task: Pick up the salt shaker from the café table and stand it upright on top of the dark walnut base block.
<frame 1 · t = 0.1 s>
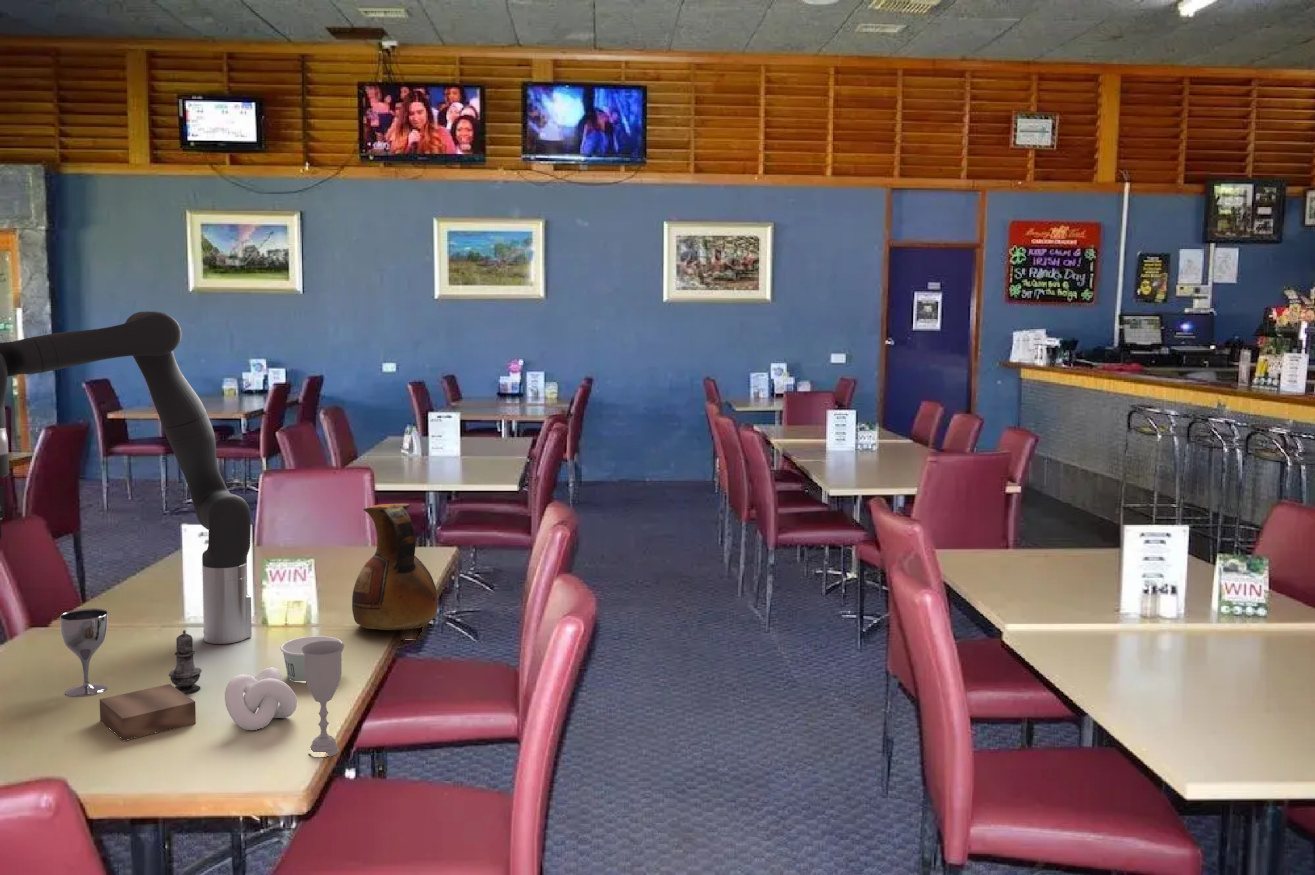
ceramic pitcher: (395, 628, 241), on the table
salt shaker: (185, 691, 197), on the table
chalice: (323, 752, 171), on the table
silver goblet: (86, 691, 196), on the table
food container: (312, 676, 207), on the table
white knot sculpture: (257, 725, 182), on the table
walnut base: (148, 722, 181), on the table
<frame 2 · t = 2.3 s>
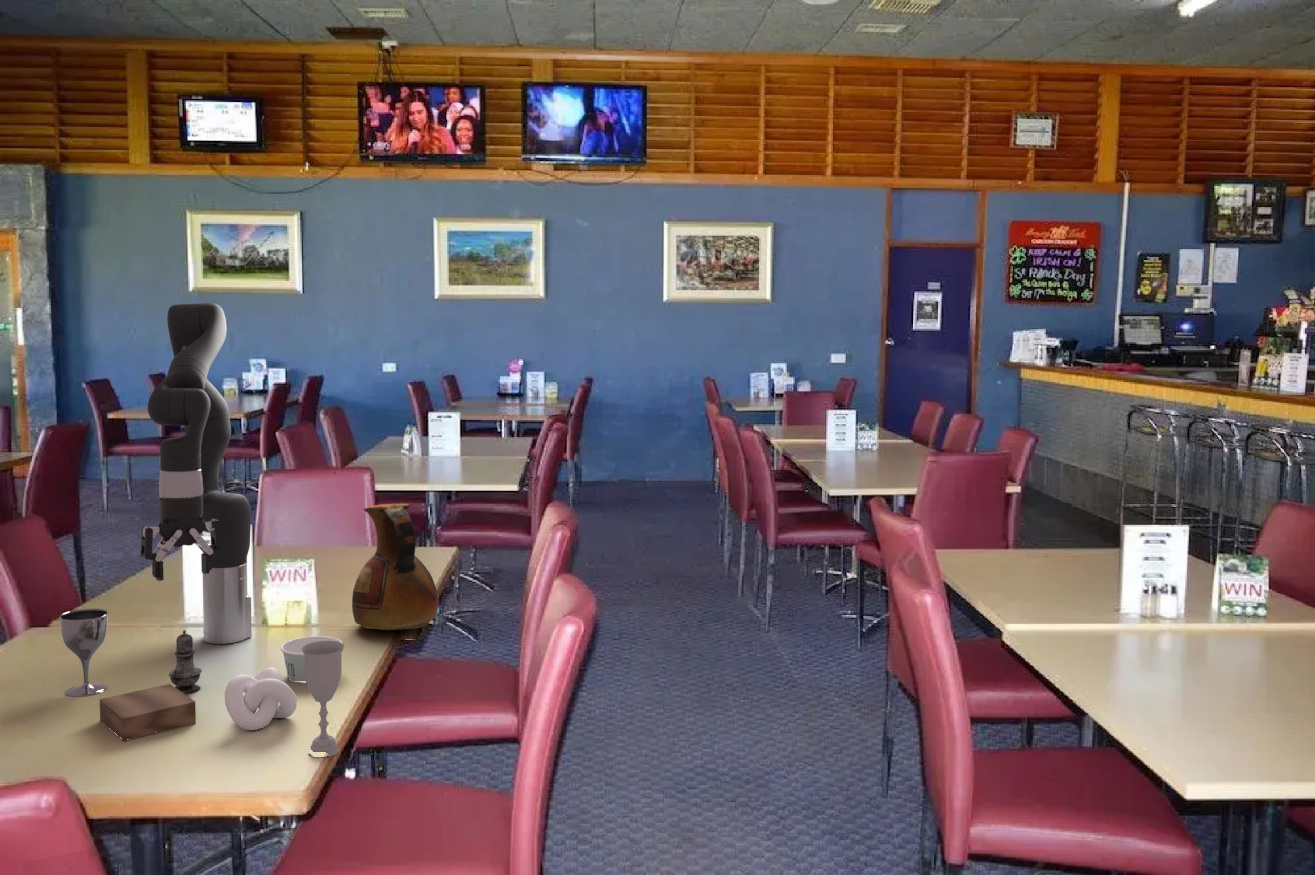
hand: (182, 576, 195), 22 cm above the table, fingers open, 8 cm apart
nothing on the table moved.
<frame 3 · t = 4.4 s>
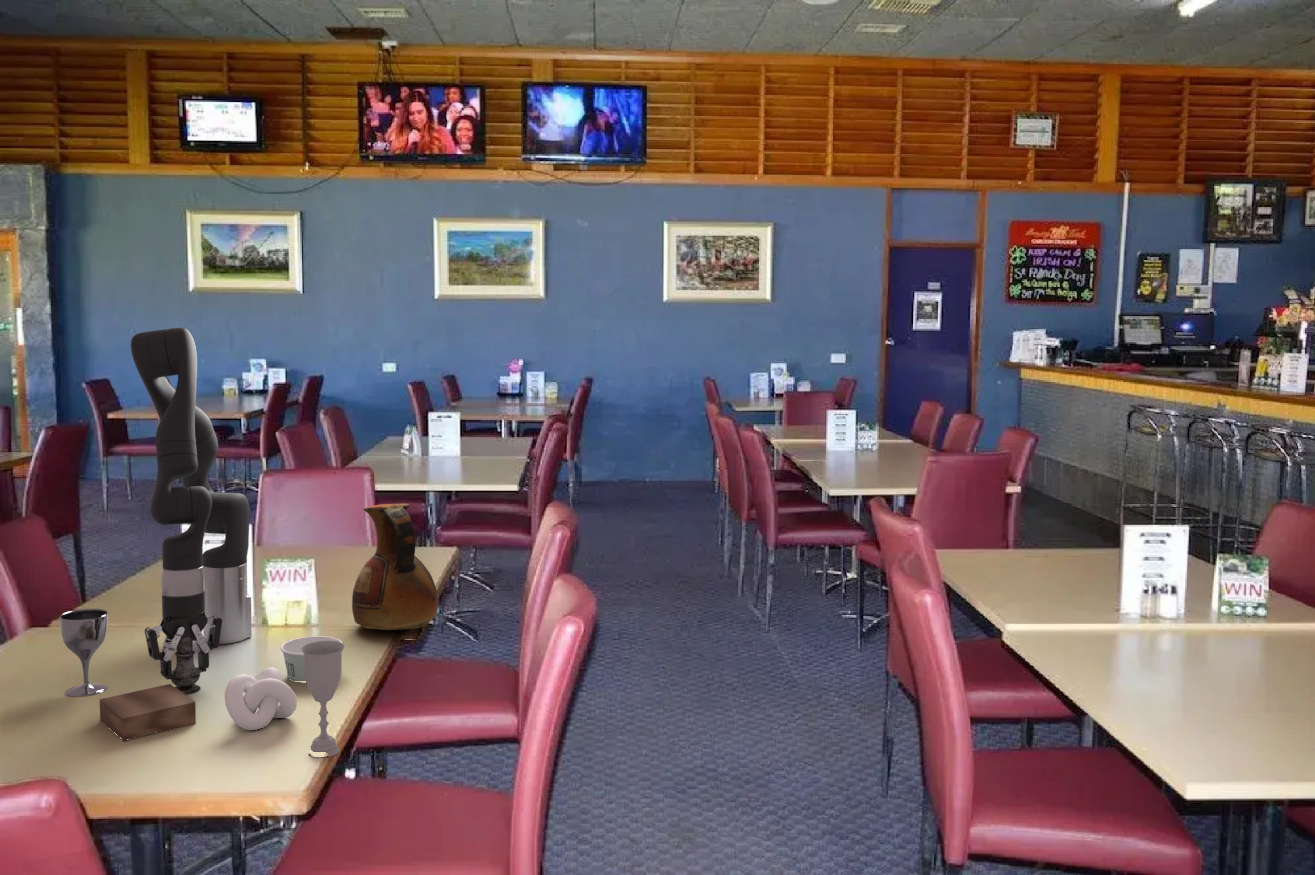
hand: (185, 674, 197), 3 cm above the table, fingers closed on salt shaker, 6 cm apart
salt shaker: (185, 691, 197), on the table, touching gripper
everything else where it was.
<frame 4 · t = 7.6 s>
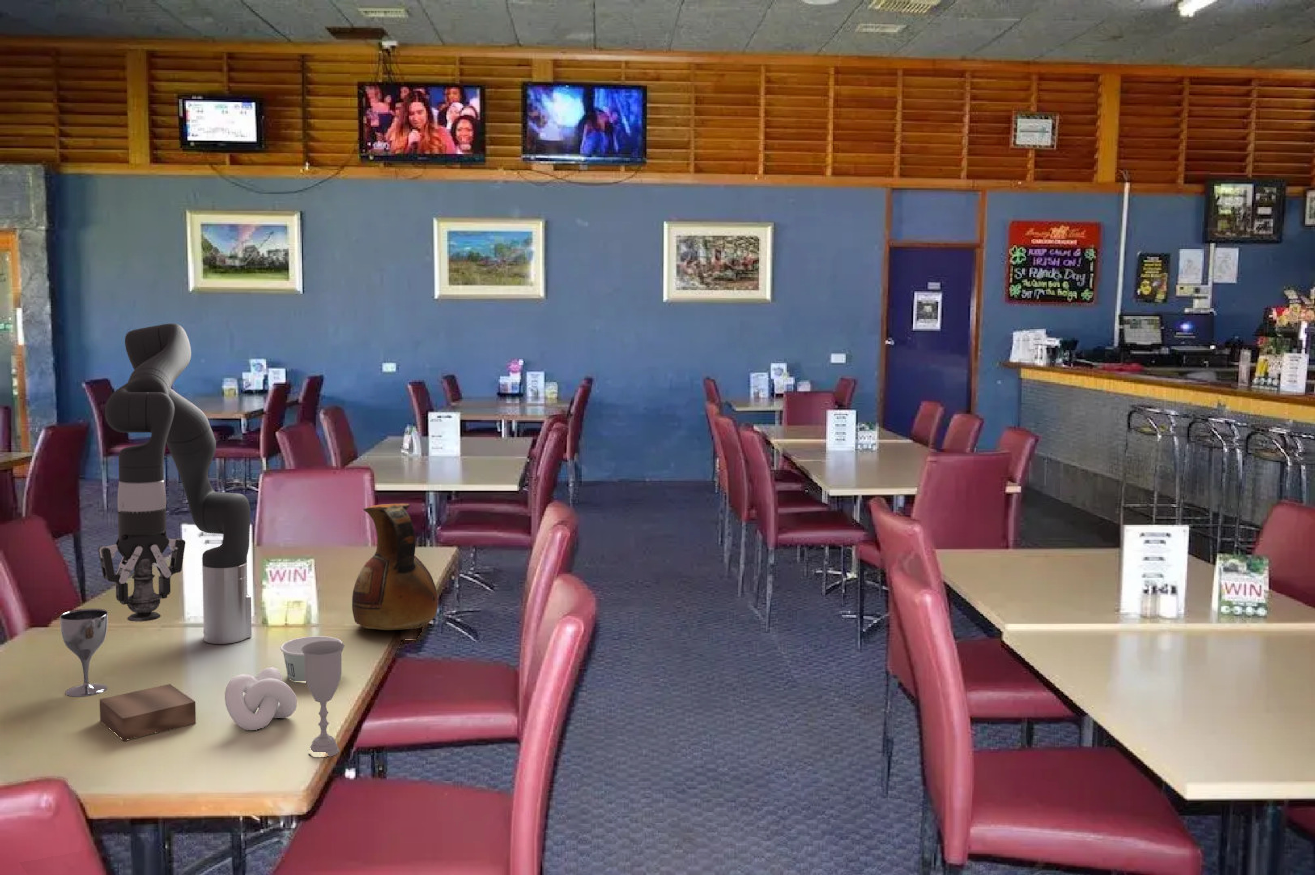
hand: (143, 600, 179), 22 cm above the table, fingers closed on salt shaker, 6 cm apart
salt shaker: (144, 618, 179), point 19 cm above the table, touching gripper
everything else where it was.
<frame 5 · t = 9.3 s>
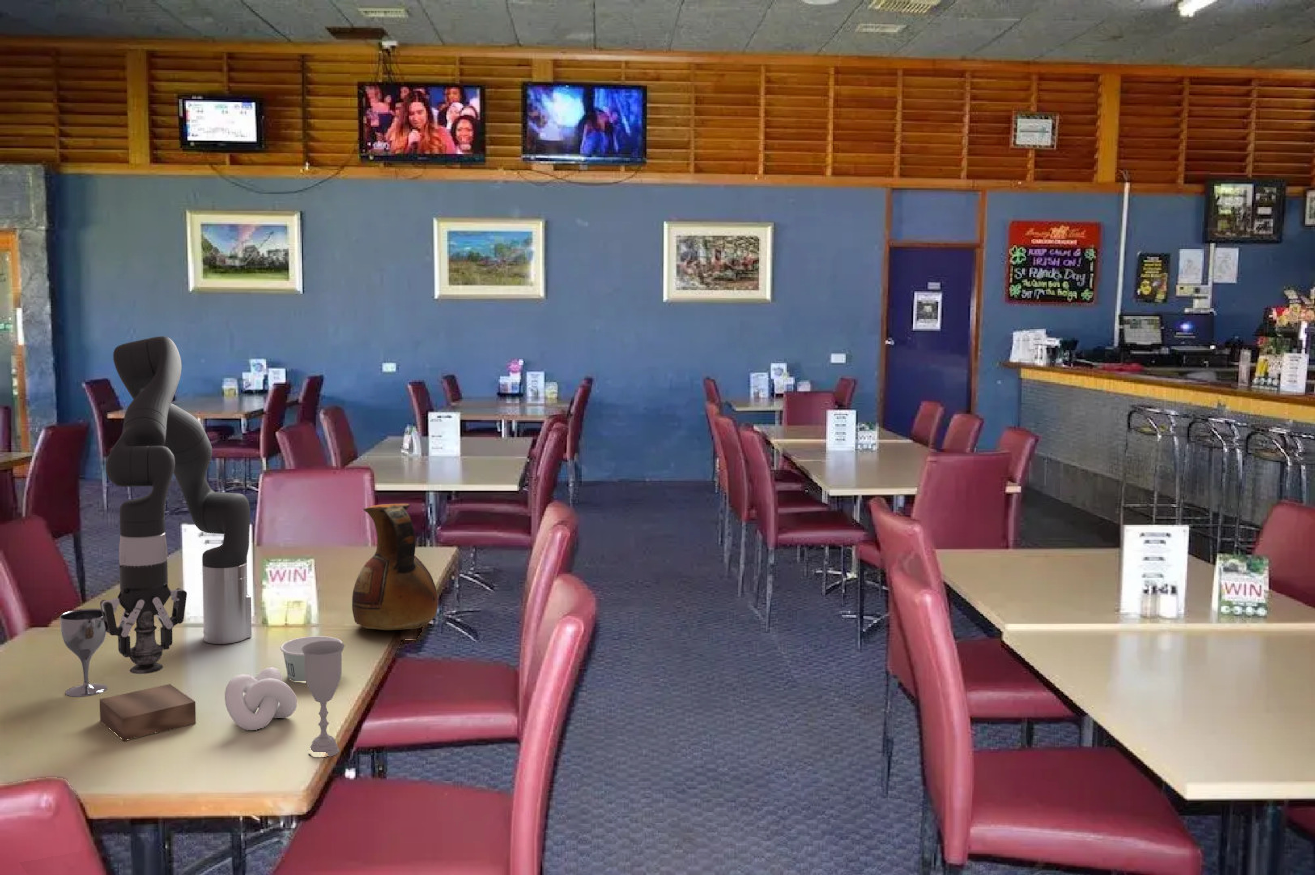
hand: (145, 652, 180), 13 cm above the table, fingers closed on salt shaker, 6 cm apart
salt shaker: (146, 670, 180), point 10 cm above the table, touching gripper
everything else where it was.
when the fingers open (8 cm above the table, at t = 10.7 s): salt shaker drops 1 cm, resting on walnut base.
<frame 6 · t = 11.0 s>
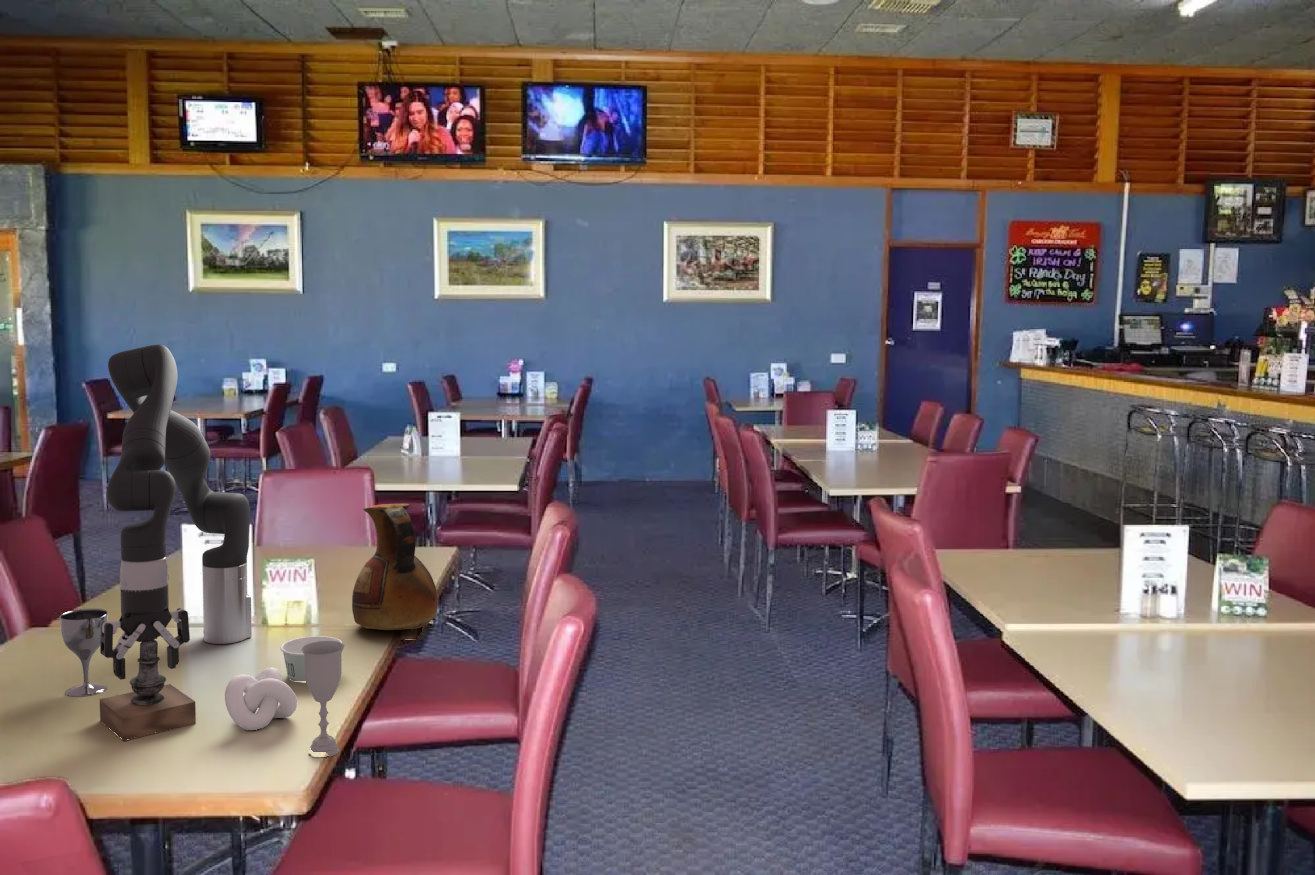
hand: (146, 672, 180), 9 cm above the table, fingers open, 8 cm apart
salt shaker: (147, 700, 181), point 4 cm above the table, touching walnut base
everything else where it was.
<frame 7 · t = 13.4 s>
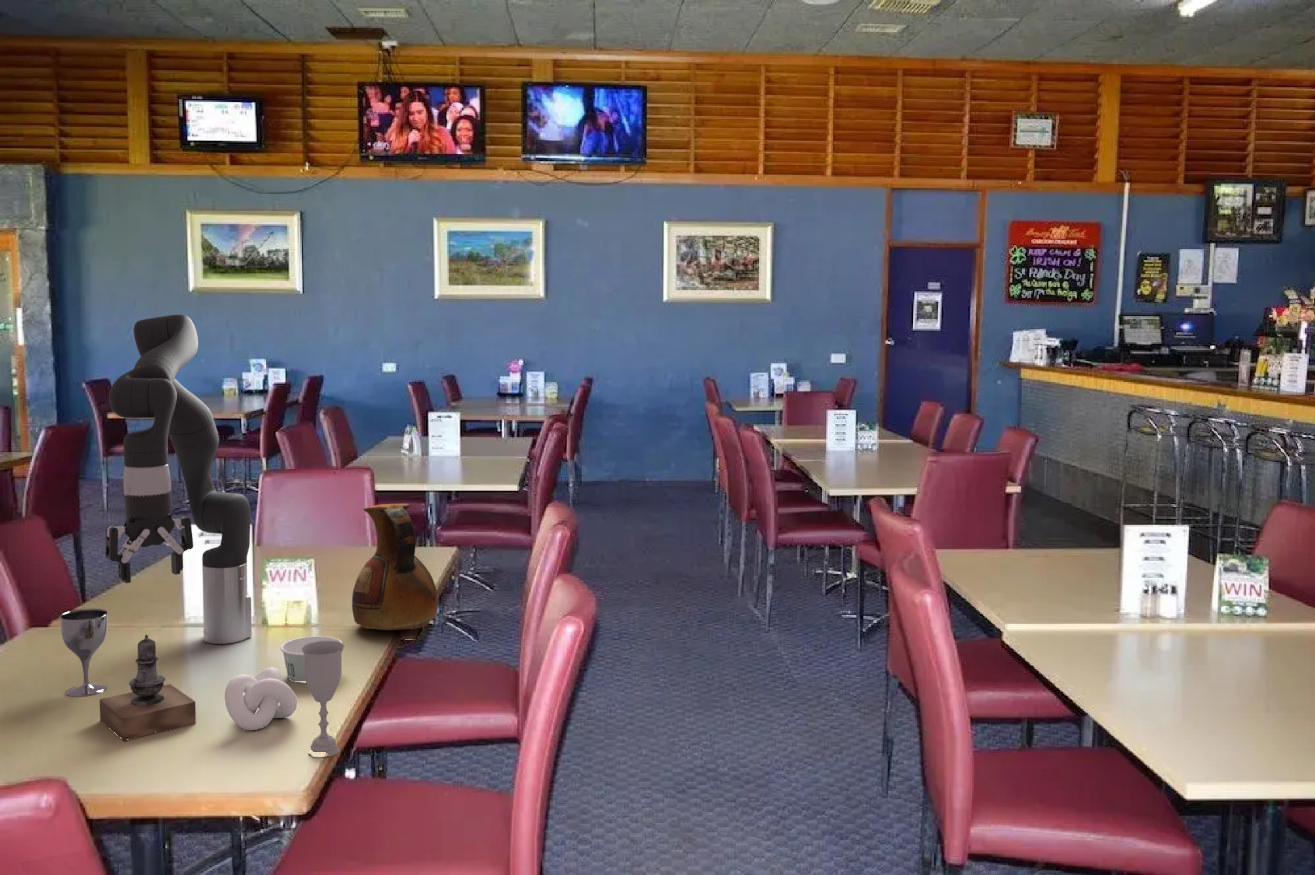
hand: (151, 578, 184), 25 cm above the table, fingers open, 8 cm apart
nothing on the table moved.
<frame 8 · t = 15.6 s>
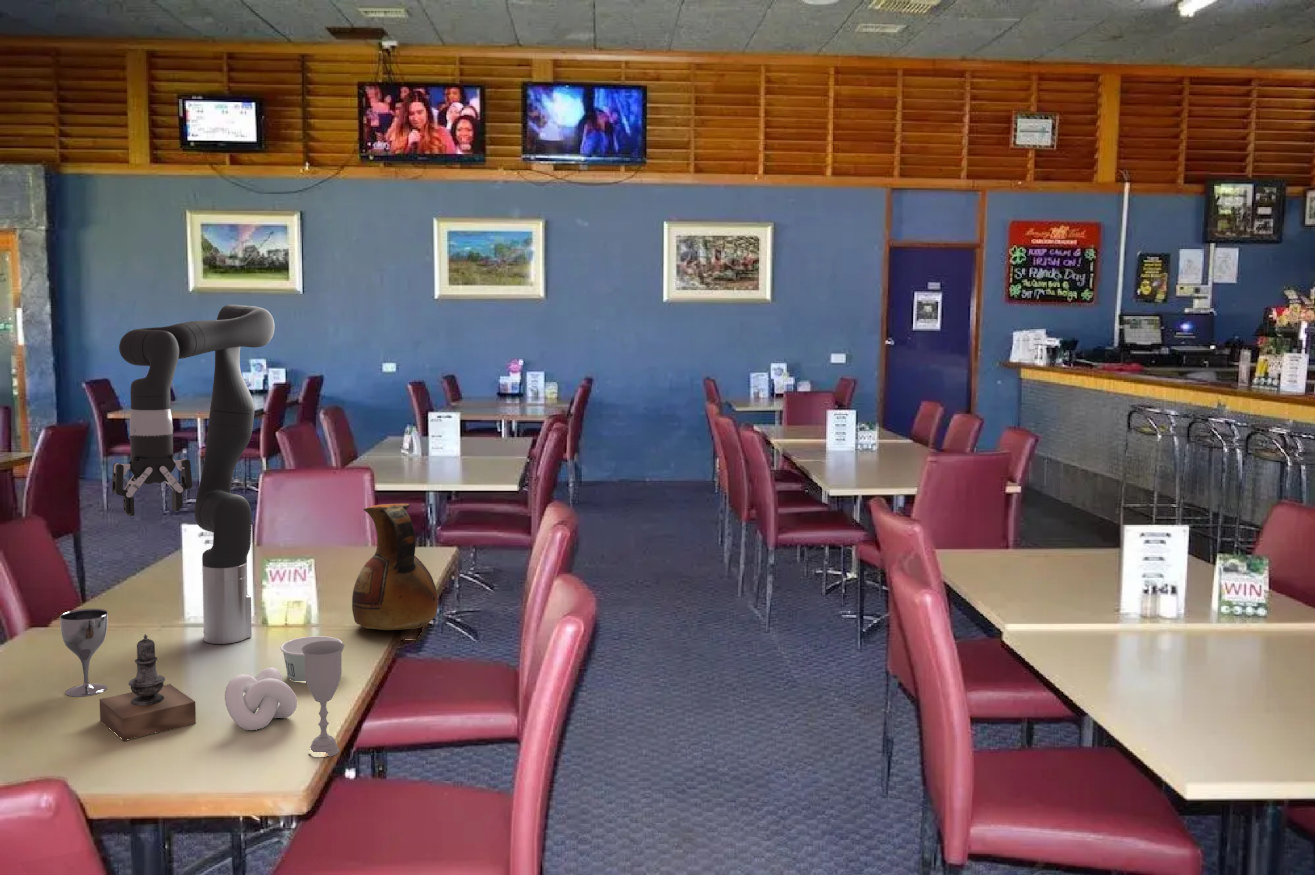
hand: (153, 513, 202), 33 cm above the table, fingers open, 8 cm apart
nothing on the table moved.
at the end: salt shaker inside the target area on the walnut base (0.1 cm from its centre), point 3.8 cm above the walnut base's base; salt shaker tilted 0°; the gripper is holding nothing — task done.
